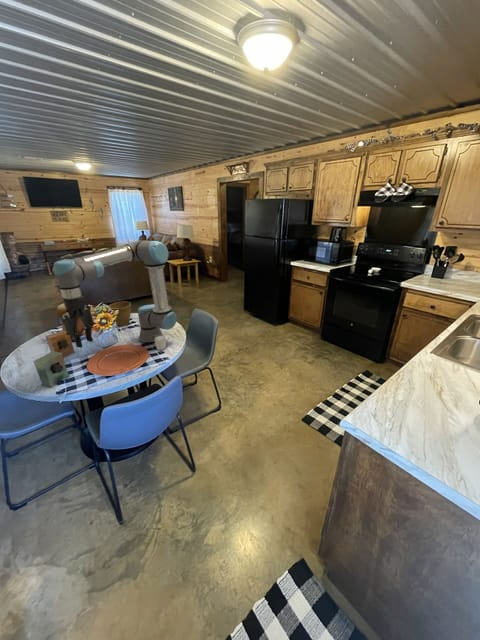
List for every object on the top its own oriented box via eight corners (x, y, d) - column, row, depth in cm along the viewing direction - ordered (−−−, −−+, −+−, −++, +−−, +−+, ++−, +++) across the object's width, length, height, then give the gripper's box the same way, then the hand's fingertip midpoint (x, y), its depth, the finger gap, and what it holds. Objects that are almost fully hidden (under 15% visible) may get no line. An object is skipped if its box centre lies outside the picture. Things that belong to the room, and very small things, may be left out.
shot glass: (168, 345, 169) (167, 336, 166) (162, 350, 163) (161, 340, 160) (159, 344, 171) (158, 334, 168) (153, 349, 165) (151, 339, 162)
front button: (64, 370, 133) (61, 363, 131) (56, 374, 129) (54, 367, 128) (59, 369, 134) (57, 362, 132) (51, 373, 130) (49, 366, 128)
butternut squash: (65, 335, 183) (55, 301, 173) (87, 331, 189) (78, 298, 179) (64, 343, 172) (54, 307, 162) (87, 338, 178) (78, 304, 168)
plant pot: (119, 320, 207) (115, 301, 201) (137, 321, 206) (134, 301, 200) (108, 328, 194) (104, 307, 187) (128, 329, 192) (124, 308, 186)
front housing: (68, 375, 138) (61, 352, 133) (51, 387, 129) (42, 363, 124) (60, 374, 140) (52, 351, 134) (42, 385, 131) (33, 361, 126)
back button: (69, 347, 155) (67, 341, 153) (62, 349, 152) (60, 343, 150) (66, 345, 157) (64, 339, 155) (59, 348, 153) (57, 342, 152)
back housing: (74, 352, 161) (69, 332, 155) (57, 359, 153) (50, 338, 147) (69, 350, 164) (63, 329, 158) (52, 357, 156) (45, 336, 150)
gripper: (83, 290, 123) (93, 334, 132) (46, 302, 107) (61, 352, 116) (95, 291, 121) (105, 336, 130) (60, 304, 105) (74, 354, 114)
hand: (84, 343), depth 123 cm, fingers open, 5 cm apart
